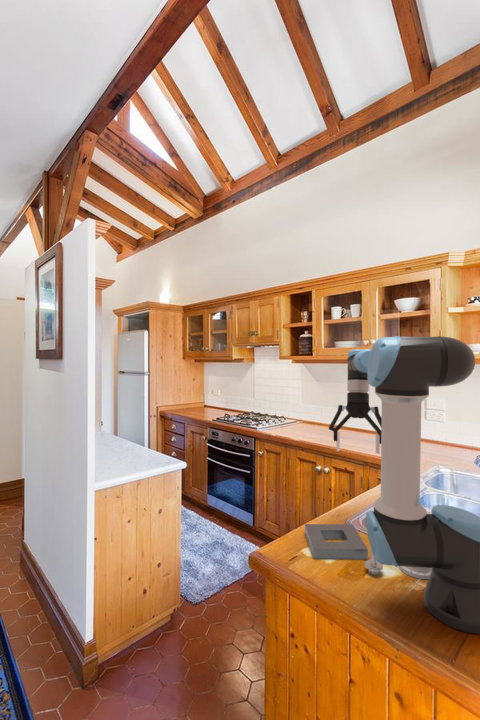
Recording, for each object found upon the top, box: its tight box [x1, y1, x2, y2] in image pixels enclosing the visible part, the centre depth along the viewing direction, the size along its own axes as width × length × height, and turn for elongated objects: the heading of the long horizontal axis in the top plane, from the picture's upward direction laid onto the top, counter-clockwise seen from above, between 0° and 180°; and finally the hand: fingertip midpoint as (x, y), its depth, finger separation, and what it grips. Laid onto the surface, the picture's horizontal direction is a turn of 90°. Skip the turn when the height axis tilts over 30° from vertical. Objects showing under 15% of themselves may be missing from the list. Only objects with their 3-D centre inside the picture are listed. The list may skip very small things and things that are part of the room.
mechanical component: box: [397, 566, 432, 580], centre depth 104 cm, size 10×4×10 cm
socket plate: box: [304, 523, 369, 560], centre depth 117 cm, size 16×16×3 cm
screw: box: [364, 546, 384, 576], centre depth 102 cm, size 13×5×5 cm
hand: (357, 452), depth 130 cm, fingers open, 13 cm apart
